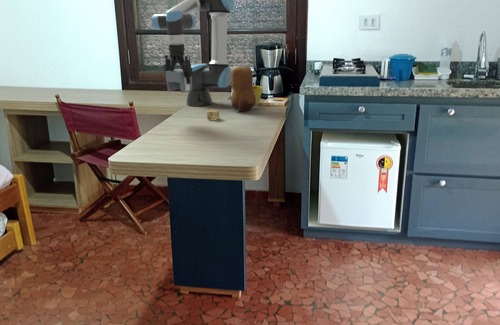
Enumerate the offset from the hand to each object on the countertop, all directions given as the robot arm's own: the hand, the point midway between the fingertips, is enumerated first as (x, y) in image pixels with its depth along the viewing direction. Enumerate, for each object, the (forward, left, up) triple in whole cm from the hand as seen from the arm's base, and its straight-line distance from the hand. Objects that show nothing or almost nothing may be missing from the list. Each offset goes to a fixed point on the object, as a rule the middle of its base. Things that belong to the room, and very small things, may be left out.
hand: (179, 89), depth 243 cm
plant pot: (+11, +53, -17) cm, 57 cm away
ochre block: (+11, +12, -17) cm, 23 cm away
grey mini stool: (0, 0, 0) cm, 0 cm away
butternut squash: (+15, +35, -17) cm, 42 cm away
